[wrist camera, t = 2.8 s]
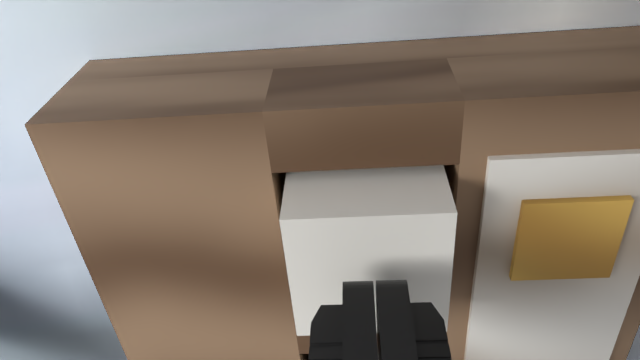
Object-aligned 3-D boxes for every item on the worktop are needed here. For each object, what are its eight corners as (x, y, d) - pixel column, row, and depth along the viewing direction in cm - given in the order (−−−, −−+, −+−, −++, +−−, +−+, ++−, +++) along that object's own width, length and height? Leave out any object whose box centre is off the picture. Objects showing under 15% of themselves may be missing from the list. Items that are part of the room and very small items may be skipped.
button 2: (286, 171, 14) (279, 219, 12) (443, 164, 14) (457, 212, 12) (301, 282, 16) (297, 336, 14) (435, 277, 16) (447, 332, 14)
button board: (89, 60, 16) (16, 132, 12) (645, 25, 15) (743, 94, 11) (221, 454, 28) (204, 548, 25) (530, 450, 27) (559, 548, 24)
